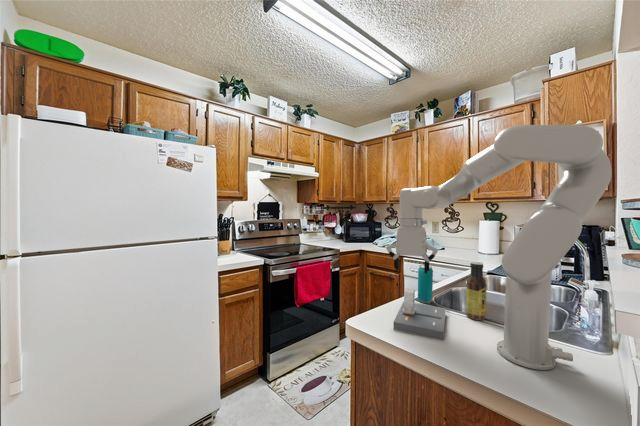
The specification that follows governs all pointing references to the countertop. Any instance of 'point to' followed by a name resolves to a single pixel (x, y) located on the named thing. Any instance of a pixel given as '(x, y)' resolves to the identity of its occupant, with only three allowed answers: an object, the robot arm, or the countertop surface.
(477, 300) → the sauce bottle
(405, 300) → the slide lever
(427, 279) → the beverage can
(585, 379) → the countertop surface
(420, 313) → the panel
